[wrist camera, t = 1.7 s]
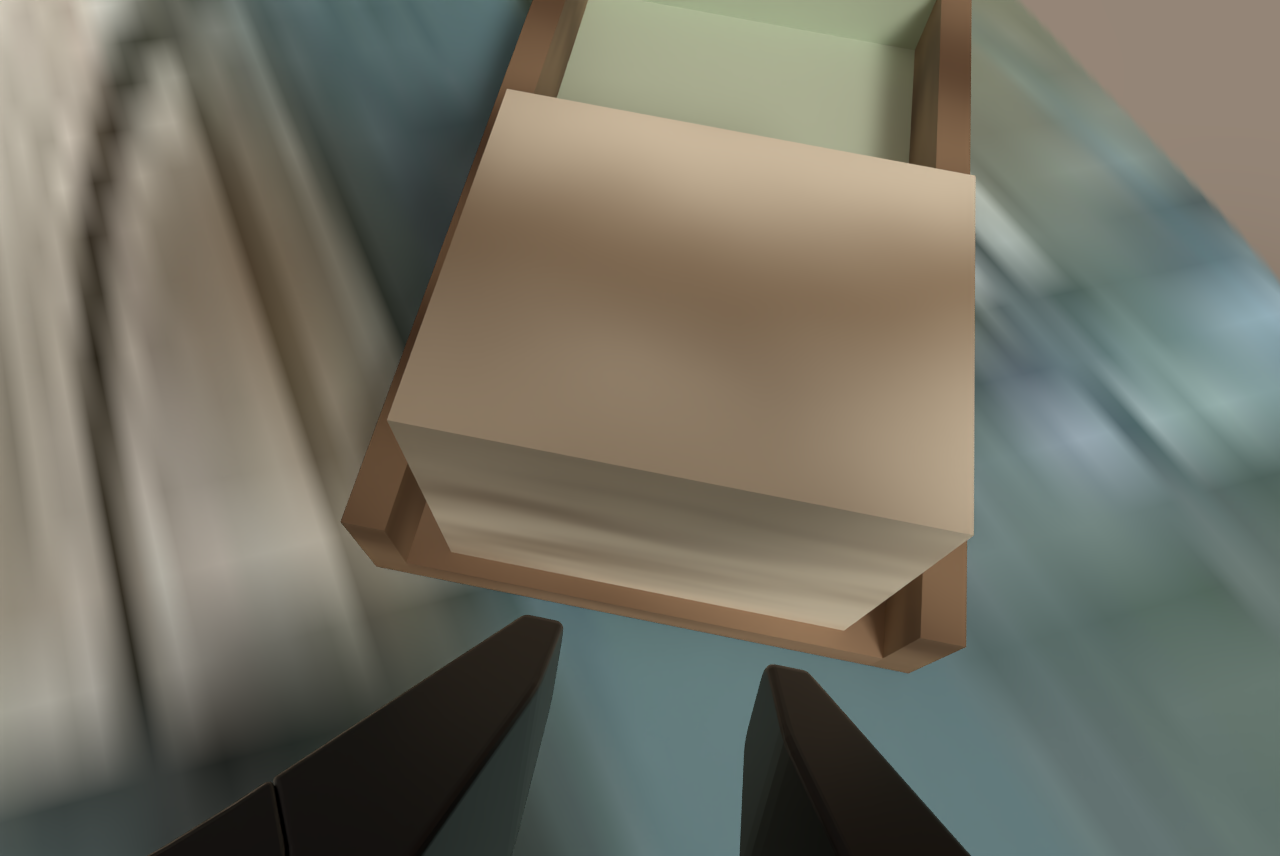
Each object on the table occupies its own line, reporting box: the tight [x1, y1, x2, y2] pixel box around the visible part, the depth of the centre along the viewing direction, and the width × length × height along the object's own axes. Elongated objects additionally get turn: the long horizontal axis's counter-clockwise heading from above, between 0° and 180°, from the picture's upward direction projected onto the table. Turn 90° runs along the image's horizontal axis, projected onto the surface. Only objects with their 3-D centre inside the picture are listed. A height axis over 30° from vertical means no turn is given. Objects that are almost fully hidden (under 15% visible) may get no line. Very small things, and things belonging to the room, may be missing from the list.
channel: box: [341, 0, 971, 673], centre depth 25 cm, size 23×14×4 cm, turn 169°
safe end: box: [557, 0, 936, 163], centre depth 28 cm, size 10×14×4 cm
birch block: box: [387, 89, 975, 631], centre depth 19 cm, size 8×10×8 cm
